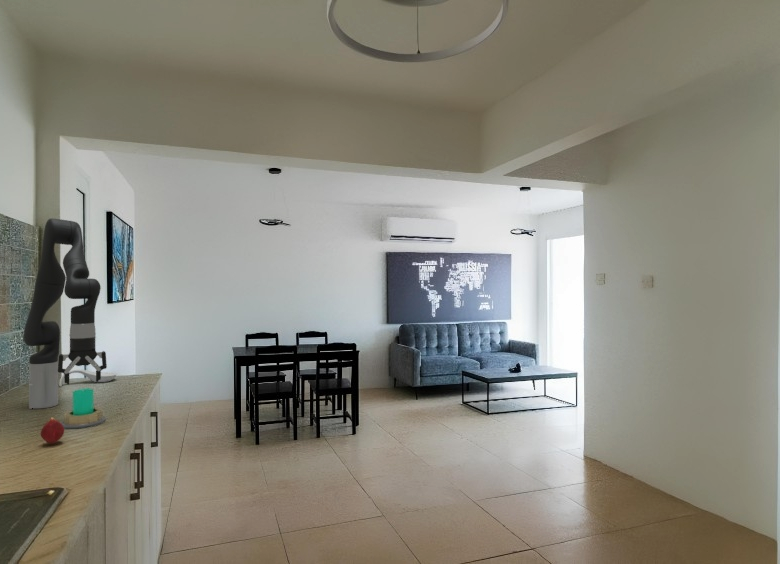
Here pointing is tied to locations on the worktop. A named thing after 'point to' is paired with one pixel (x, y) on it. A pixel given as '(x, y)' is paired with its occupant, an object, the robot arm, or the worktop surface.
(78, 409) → the candle
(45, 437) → the onion
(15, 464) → the worktop surface
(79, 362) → the robot arm
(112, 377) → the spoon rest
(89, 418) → the collar
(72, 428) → the dish
